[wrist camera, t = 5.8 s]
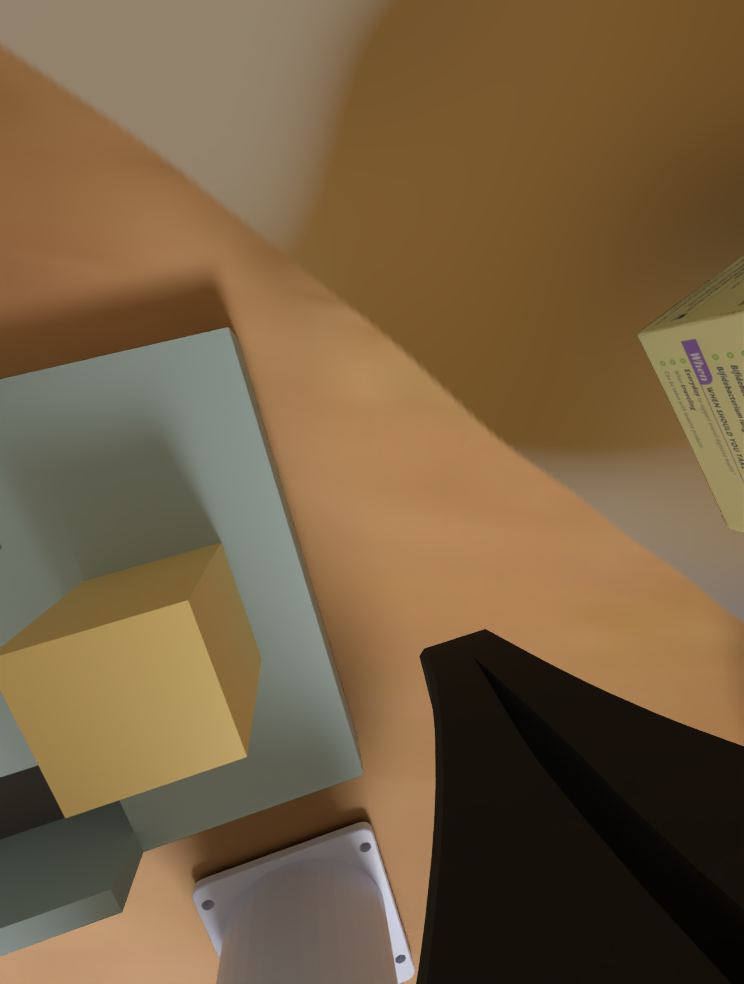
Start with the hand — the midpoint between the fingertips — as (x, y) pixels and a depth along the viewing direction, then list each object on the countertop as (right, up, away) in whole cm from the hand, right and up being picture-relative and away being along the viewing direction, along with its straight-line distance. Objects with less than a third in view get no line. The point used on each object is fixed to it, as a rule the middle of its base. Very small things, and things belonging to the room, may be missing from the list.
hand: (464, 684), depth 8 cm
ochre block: (-8, -1, +7) cm, 11 cm away
